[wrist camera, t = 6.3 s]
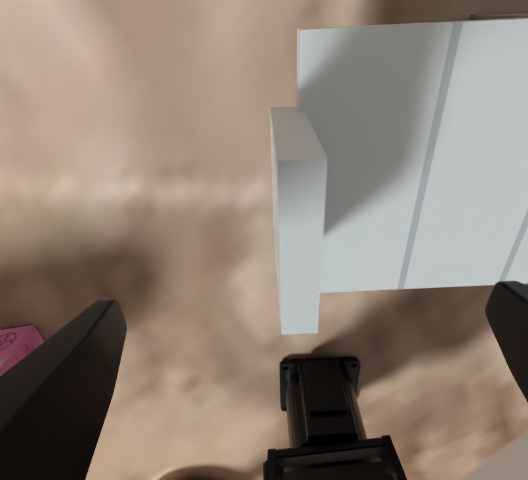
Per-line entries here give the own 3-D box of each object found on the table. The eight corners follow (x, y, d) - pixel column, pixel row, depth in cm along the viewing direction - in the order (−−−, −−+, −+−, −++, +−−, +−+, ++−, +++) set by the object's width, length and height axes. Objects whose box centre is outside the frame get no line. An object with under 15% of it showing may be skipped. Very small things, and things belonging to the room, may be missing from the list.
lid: (586, 269, 18) (706, 363, 13) (275, 283, 18) (282, 381, 13) (734, 7, 12) (1052, 4, 7) (267, 30, 12) (275, 42, 7)
